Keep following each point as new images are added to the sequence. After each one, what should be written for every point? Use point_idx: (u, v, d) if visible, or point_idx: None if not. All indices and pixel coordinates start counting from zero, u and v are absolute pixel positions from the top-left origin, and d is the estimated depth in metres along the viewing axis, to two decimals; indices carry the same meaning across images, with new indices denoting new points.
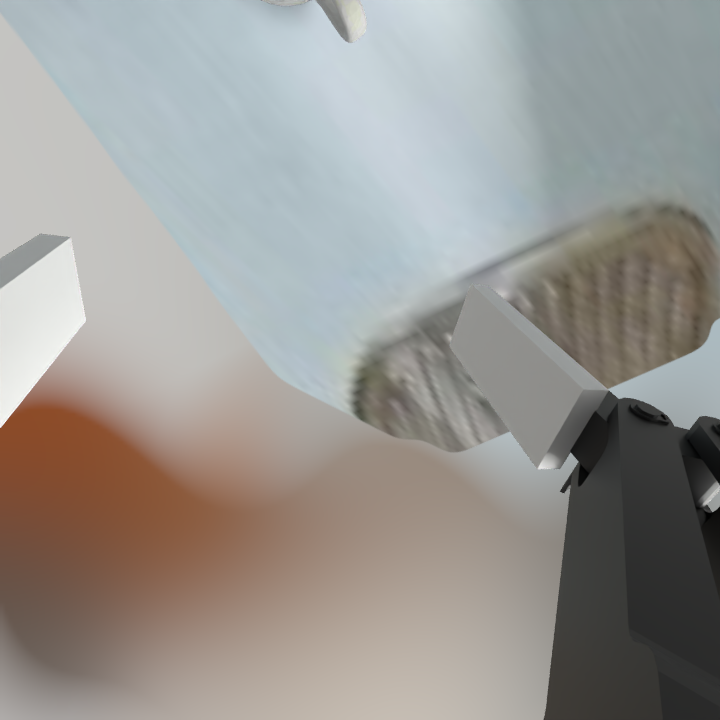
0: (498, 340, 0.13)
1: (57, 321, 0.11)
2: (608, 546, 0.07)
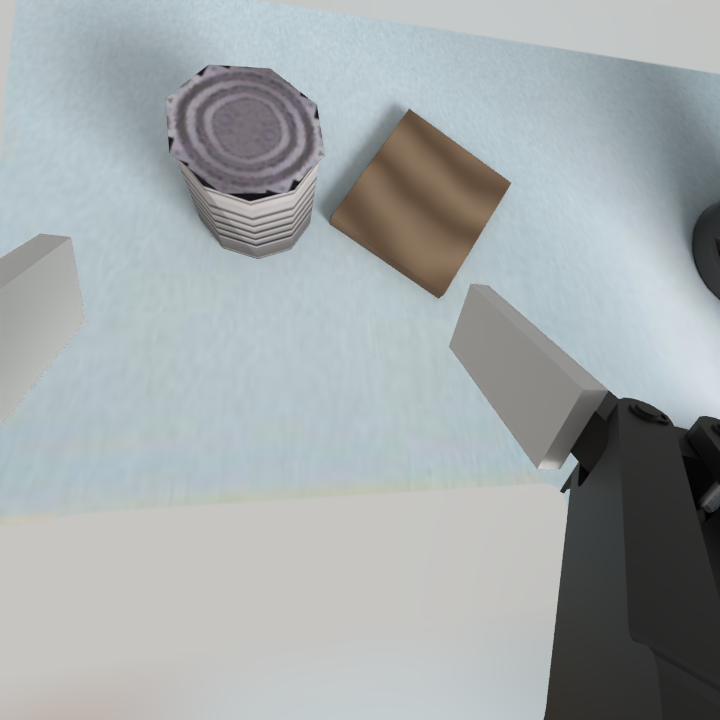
0: (498, 340, 0.13)
1: (57, 321, 0.11)
2: (607, 546, 0.07)
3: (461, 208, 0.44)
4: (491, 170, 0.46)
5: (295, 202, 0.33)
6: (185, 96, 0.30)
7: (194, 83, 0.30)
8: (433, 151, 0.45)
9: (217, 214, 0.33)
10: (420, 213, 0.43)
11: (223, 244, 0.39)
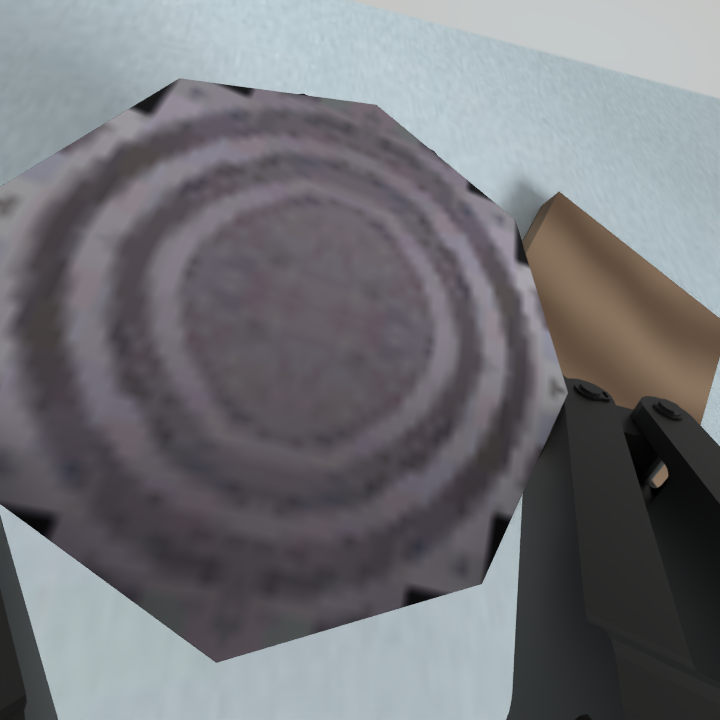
0: None
1: None
2: (562, 528, 0.07)
3: (663, 379, 0.23)
4: (697, 303, 0.25)
5: None
6: (76, 190, 0.07)
7: (120, 139, 0.08)
8: (605, 270, 0.24)
9: None
10: None
11: None
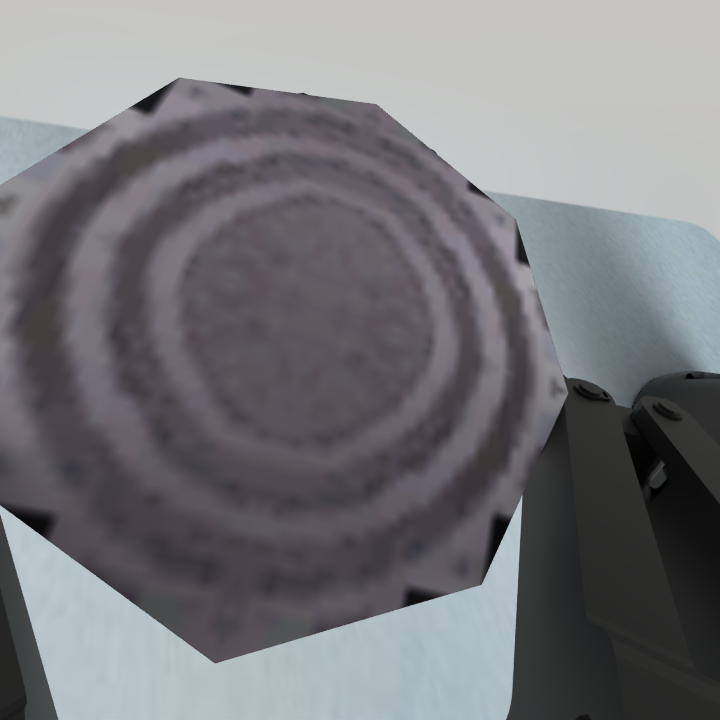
0: None
1: None
2: (561, 528, 0.07)
3: None
4: None
5: None
6: (76, 189, 0.07)
7: (119, 138, 0.08)
8: None
9: None
10: None
11: None
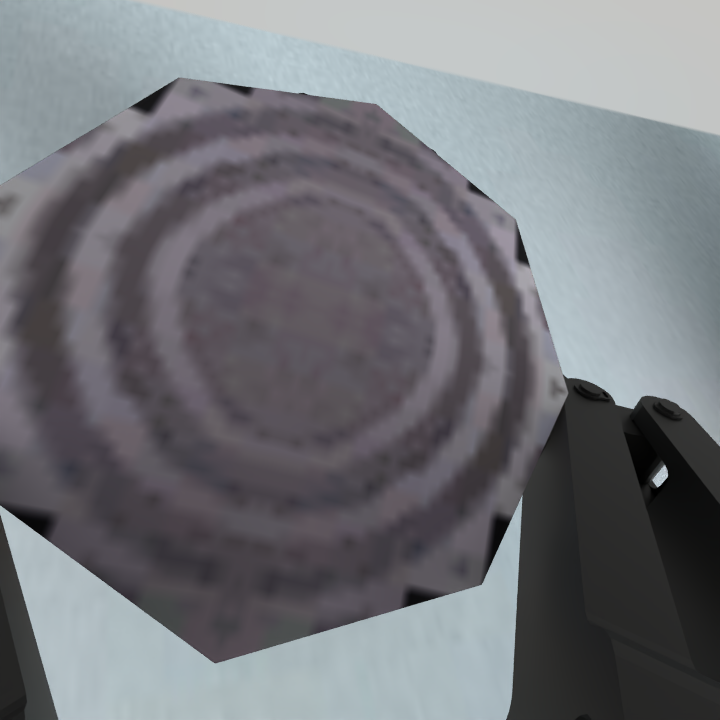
0: None
1: None
2: (561, 528, 0.07)
3: None
4: None
5: None
6: (75, 189, 0.07)
7: (119, 138, 0.08)
8: None
9: None
10: None
11: None
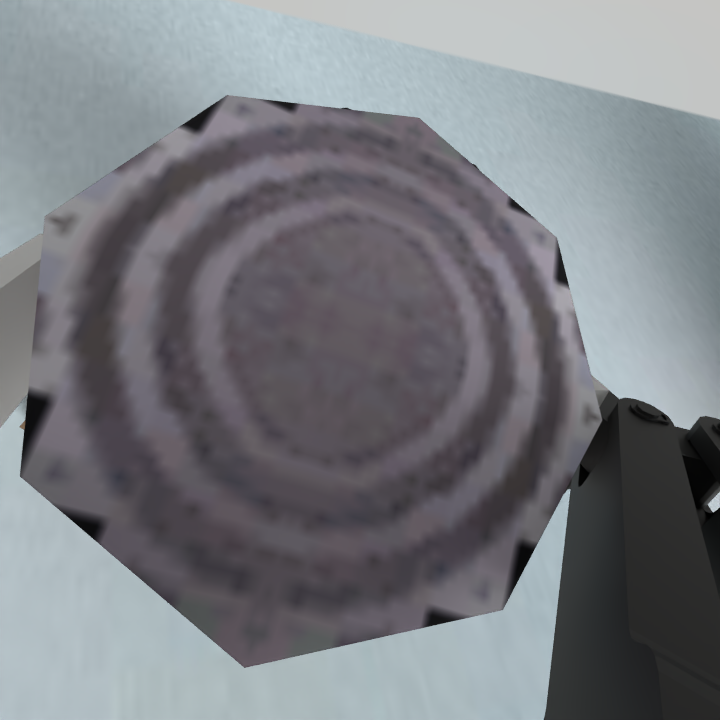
0: None
1: None
2: (607, 547, 0.07)
3: None
4: None
5: None
6: (129, 208, 0.08)
7: (170, 157, 0.08)
8: None
9: None
10: None
11: None
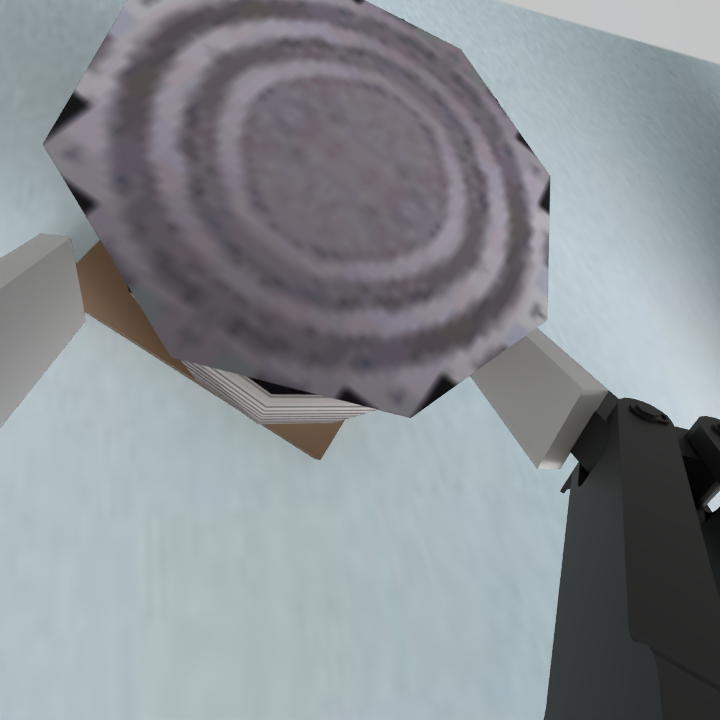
0: None
1: (57, 321, 0.11)
2: (608, 546, 0.07)
3: None
4: None
5: None
6: (202, 10, 0.09)
7: None
8: None
9: None
10: None
11: (195, 377, 0.17)
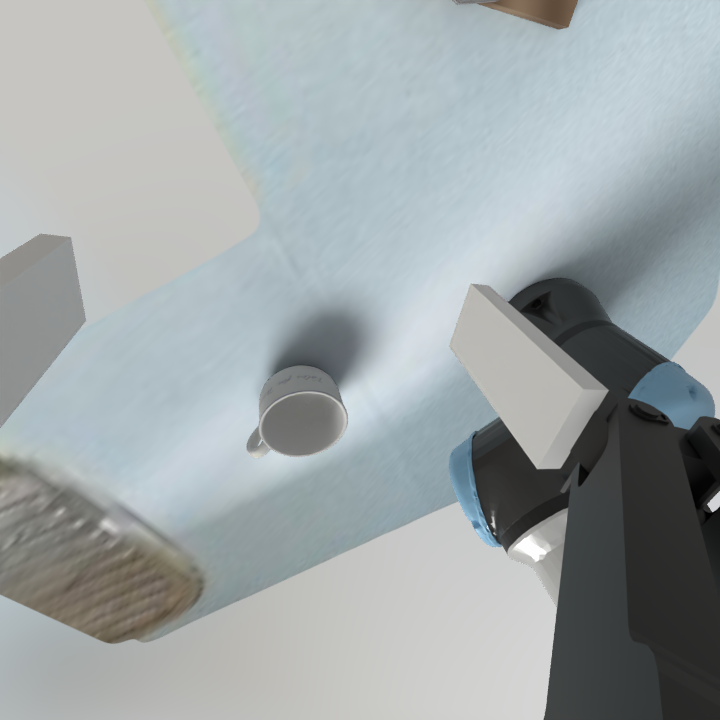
0: (498, 340, 0.13)
1: (57, 321, 0.11)
2: (607, 546, 0.07)
3: None
4: None
5: None
6: None
7: None
8: None
9: None
10: None
11: None
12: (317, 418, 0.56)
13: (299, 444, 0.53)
